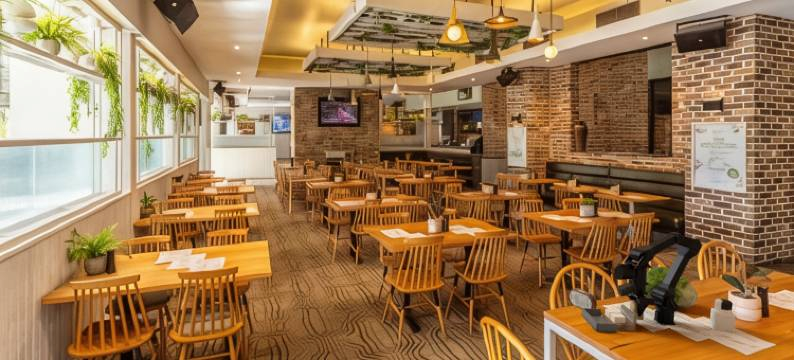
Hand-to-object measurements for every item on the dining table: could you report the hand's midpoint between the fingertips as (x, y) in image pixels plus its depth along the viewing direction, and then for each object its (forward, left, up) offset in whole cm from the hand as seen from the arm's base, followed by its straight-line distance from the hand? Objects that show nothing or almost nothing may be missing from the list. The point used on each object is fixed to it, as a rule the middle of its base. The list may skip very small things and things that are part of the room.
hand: (636, 314), depth 205 cm
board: (+7, 0, -4) cm, 9 cm away
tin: (+16, -19, -5) cm, 26 cm away
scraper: (0, 0, -2) cm, 2 cm away
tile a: (+9, -3, -2) cm, 10 cm away
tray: (+16, 0, -4) cm, 16 cm away
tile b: (+9, +3, -2) cm, 10 cm away
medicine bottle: (-35, +1, -5) cm, 35 cm away
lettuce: (-26, -25, -5) cm, 36 cm away
